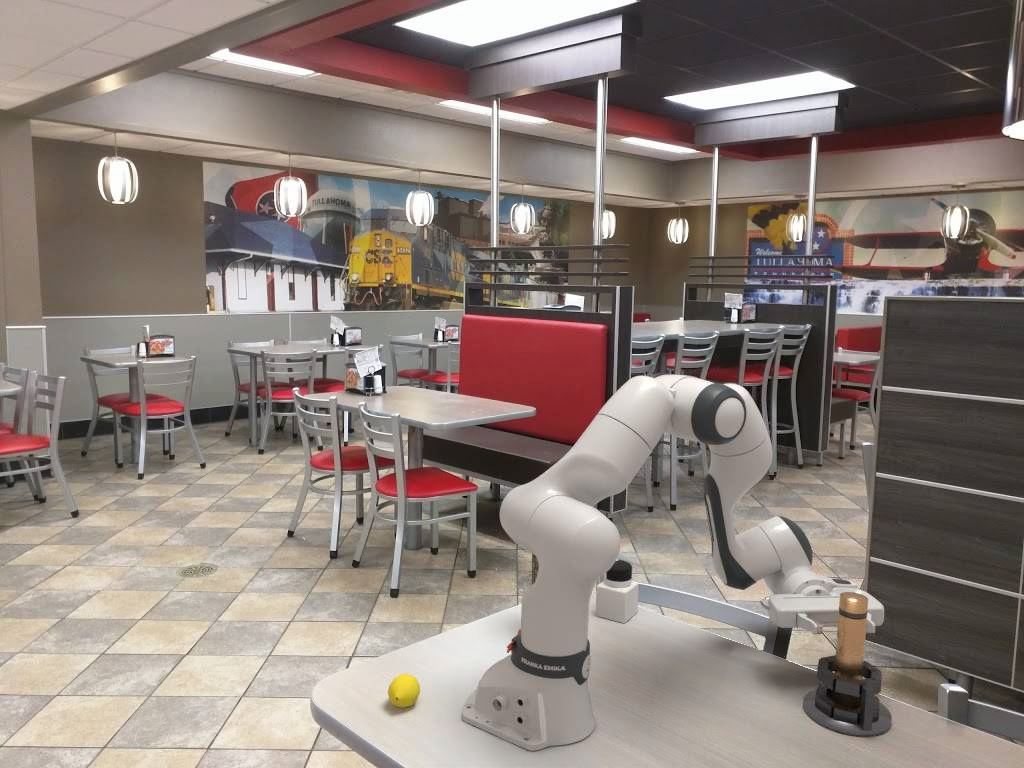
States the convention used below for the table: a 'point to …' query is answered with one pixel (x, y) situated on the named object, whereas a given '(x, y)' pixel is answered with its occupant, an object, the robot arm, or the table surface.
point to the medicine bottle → (617, 593)
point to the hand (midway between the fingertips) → (845, 629)
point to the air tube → (850, 643)
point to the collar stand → (841, 718)
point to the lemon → (404, 690)
